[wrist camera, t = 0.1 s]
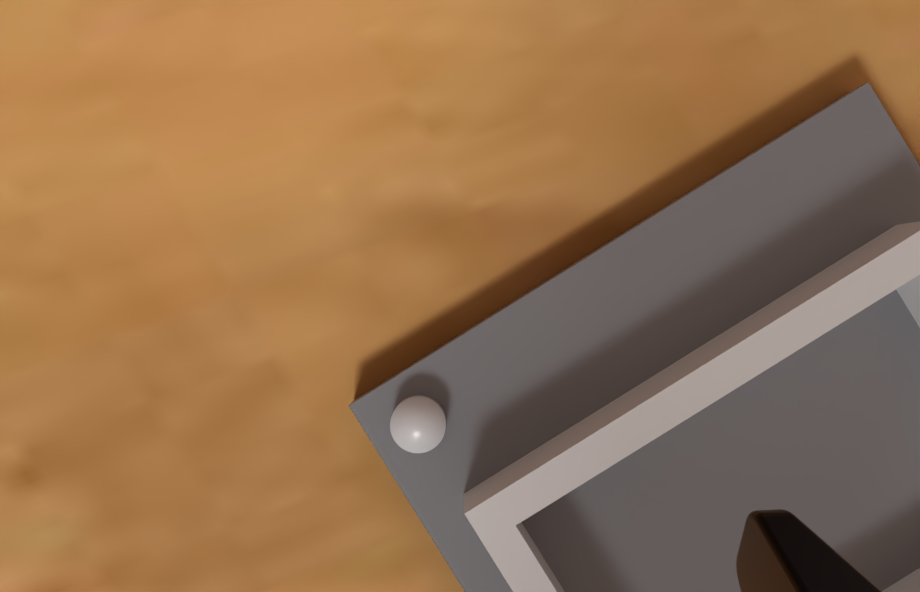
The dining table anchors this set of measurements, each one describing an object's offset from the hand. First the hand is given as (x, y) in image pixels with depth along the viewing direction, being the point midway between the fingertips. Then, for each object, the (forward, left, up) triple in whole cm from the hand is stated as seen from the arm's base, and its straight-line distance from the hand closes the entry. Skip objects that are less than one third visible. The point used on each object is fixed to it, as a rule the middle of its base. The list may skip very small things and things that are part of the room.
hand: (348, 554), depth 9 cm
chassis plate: (-8, -7, -15) cm, 18 cm away
